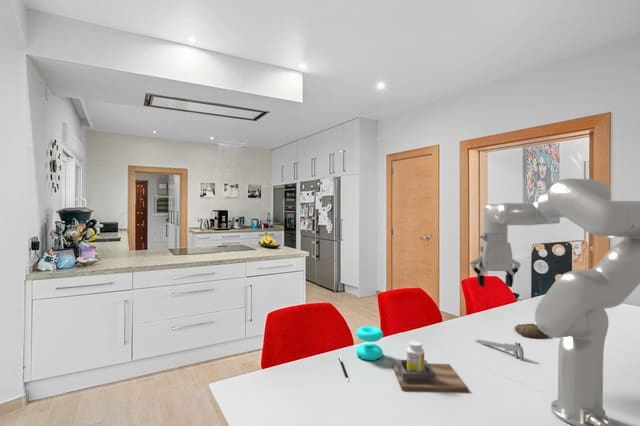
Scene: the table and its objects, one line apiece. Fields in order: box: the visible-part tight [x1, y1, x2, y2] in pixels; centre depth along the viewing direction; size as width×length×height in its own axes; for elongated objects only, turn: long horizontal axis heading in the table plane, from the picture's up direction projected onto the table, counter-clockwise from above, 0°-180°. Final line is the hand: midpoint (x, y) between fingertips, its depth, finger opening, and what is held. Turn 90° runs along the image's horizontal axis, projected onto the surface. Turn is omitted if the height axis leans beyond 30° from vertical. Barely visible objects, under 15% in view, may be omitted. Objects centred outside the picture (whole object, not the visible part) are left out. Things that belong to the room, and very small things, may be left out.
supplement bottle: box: [406, 340, 425, 372], centre depth 111 cm, size 6×6×10 cm
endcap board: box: [391, 359, 469, 393], centre depth 111 cm, size 16×20×4 cm
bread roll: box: [514, 323, 550, 340], centre depth 152 cm, size 13×12×5 cm
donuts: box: [355, 325, 384, 361], centre depth 128 cm, size 10×10×10 cm
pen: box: [338, 355, 350, 382], centre depth 117 cm, size 1×19×1 cm, turn 5°
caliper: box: [474, 338, 525, 361], centre depth 133 cm, size 20×1×6 cm, turn 26°
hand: (495, 286), depth 120 cm, fingers open, 9 cm apart
